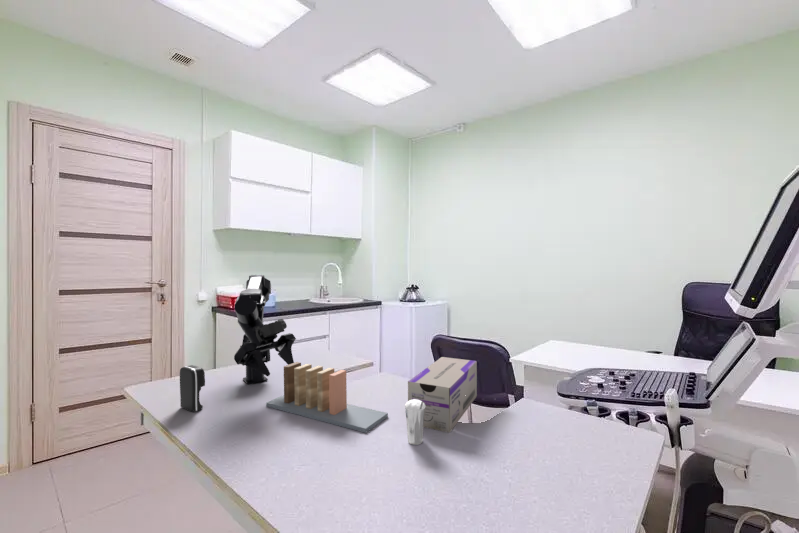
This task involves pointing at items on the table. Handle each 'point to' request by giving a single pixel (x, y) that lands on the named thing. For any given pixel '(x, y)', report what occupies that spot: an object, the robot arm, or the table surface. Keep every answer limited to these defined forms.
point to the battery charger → (191, 387)
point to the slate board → (347, 418)
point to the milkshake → (415, 420)
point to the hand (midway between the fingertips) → (281, 370)
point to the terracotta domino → (337, 392)
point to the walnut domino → (289, 382)
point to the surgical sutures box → (445, 391)
